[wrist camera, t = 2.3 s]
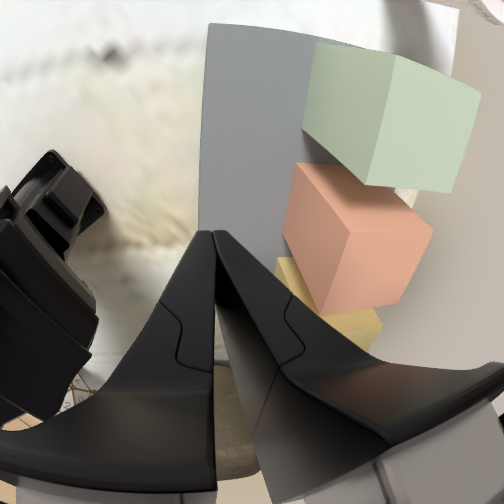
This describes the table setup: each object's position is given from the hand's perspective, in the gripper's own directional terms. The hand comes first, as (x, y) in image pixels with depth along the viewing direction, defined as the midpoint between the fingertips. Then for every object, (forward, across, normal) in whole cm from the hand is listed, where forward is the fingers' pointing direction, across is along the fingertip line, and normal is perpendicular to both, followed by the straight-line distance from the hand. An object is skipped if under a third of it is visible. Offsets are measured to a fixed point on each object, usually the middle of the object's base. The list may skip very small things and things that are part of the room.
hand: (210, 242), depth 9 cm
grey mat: (+13, -8, +5) cm, 16 cm away
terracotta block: (+12, -10, +5) cm, 16 cm away
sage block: (+12, -10, -4) cm, 16 cm away
